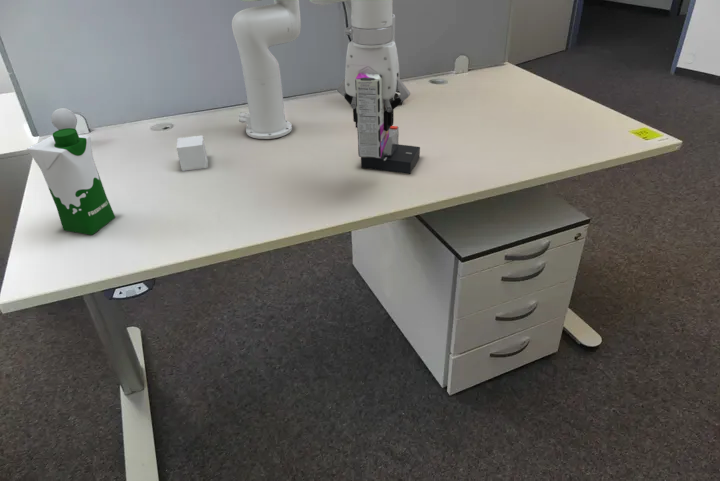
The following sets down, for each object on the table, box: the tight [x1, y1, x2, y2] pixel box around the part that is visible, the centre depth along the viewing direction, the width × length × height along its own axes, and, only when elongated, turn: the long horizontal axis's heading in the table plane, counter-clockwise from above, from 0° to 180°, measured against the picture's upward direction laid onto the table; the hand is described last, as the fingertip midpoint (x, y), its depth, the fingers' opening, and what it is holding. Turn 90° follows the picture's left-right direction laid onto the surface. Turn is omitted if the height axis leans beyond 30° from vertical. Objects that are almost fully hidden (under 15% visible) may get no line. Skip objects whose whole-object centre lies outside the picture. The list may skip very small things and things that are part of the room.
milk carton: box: [26, 128, 116, 236], centre depth 101 cm, size 9×9×20 cm
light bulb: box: [50, 107, 78, 131], centre depth 137 cm, size 6×6×10 cm
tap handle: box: [383, 125, 400, 157], centre depth 123 cm, size 6×2×5 cm, turn 161°
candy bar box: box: [355, 73, 389, 158], centre depth 106 cm, size 11×5×16 cm, turn 168°
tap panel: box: [360, 143, 421, 175], centre depth 125 cm, size 12×10×3 cm
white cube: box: [175, 134, 208, 172], centre depth 126 cm, size 6×6×6 cm
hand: (373, 126), depth 108 cm, fingers closed on candy bar box, 5 cm apart
